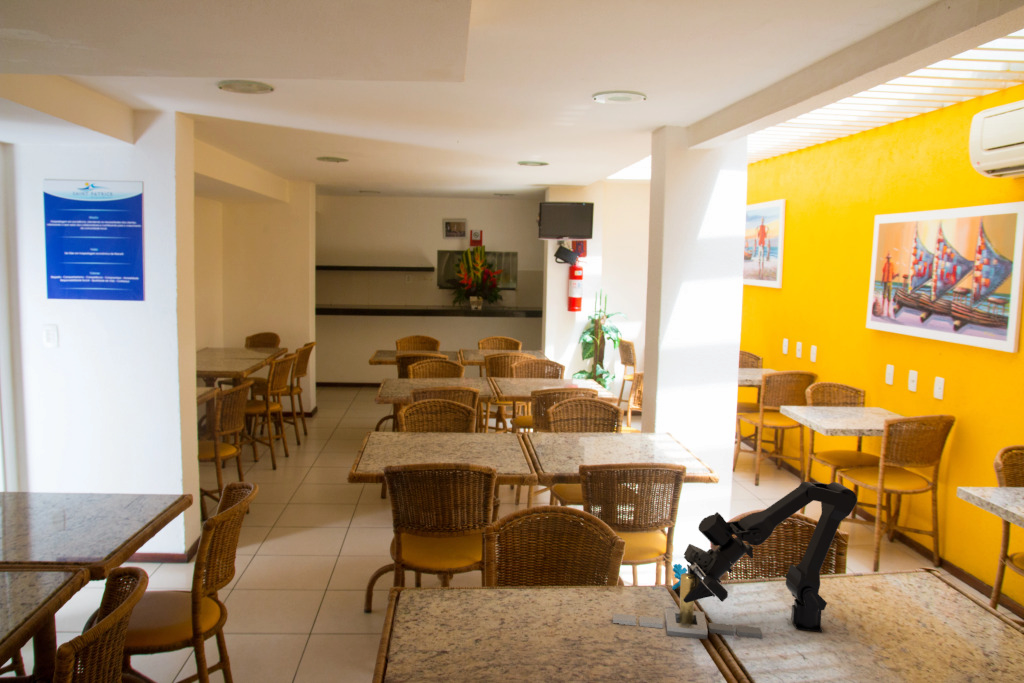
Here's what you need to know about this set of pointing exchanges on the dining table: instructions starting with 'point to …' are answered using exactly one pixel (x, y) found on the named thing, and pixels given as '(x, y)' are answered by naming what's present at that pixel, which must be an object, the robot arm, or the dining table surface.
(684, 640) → the dining table surface
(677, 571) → the gear
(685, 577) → the pin
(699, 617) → the square frame with tiles
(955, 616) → the dining table surface
